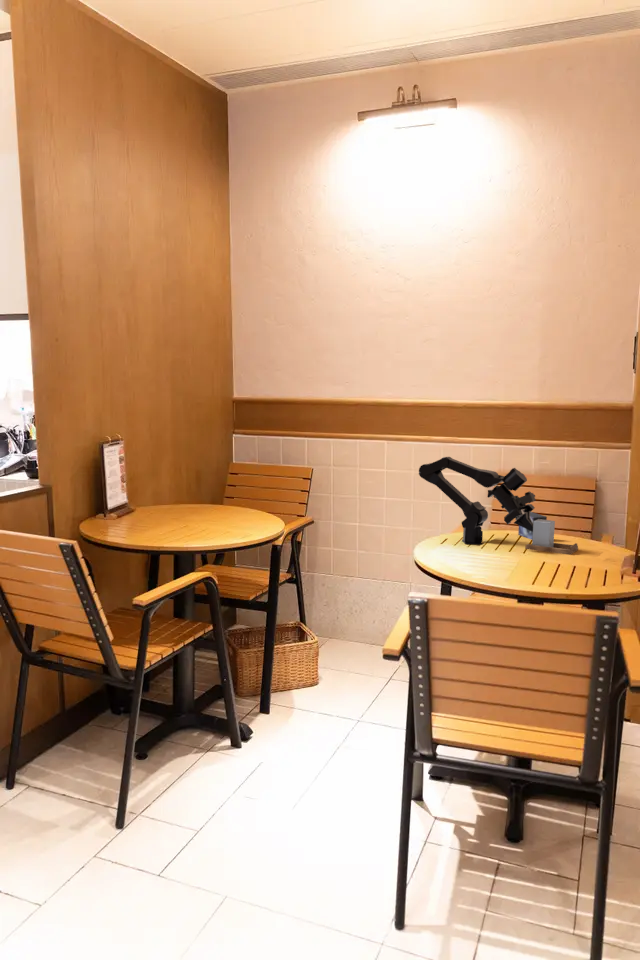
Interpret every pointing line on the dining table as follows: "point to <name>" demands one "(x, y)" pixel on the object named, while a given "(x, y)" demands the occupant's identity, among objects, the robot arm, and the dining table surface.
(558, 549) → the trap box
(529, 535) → the small box
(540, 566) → the dining table surface
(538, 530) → the block
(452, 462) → the robot arm
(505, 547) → the dining table surface
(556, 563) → the dining table surface
